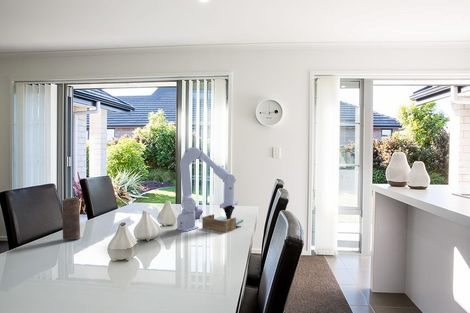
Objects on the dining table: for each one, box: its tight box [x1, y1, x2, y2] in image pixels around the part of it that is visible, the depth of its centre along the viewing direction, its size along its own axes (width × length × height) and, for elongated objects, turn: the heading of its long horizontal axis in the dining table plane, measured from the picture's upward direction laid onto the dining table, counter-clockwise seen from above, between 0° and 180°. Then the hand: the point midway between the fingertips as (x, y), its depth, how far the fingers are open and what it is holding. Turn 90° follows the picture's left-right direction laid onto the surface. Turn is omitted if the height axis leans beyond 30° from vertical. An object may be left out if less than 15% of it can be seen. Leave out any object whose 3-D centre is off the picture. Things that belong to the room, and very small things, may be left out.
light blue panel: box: [214, 215, 244, 226], centre depth 173 cm, size 1×16×7 cm
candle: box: [61, 197, 81, 241], centre depth 147 cm, size 8×7×20 cm
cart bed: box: [201, 214, 237, 233], centre depth 166 cm, size 9×16×6 cm, turn 56°
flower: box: [195, 205, 203, 219], centre depth 190 cm, size 9×9×10 cm
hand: (228, 219), depth 174 cm, fingers closed, pressing on light blue panel
